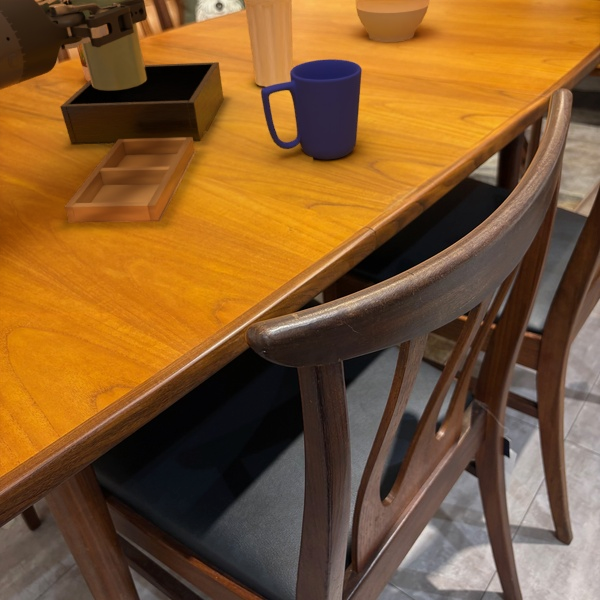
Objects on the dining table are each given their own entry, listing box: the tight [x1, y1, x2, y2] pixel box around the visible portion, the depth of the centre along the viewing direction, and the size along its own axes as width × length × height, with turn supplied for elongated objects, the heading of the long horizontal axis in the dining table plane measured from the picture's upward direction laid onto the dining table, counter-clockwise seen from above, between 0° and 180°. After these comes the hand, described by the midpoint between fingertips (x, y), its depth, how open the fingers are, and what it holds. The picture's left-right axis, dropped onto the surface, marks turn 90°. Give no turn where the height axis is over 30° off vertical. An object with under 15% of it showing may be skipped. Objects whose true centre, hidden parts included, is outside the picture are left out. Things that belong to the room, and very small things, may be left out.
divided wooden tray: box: [64, 137, 197, 223], centre depth 70 cm, size 10×18×2 cm, turn 176°
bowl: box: [355, 0, 430, 43], centre depth 117 cm, size 16×16×8 cm
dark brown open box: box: [59, 61, 225, 145], centre depth 87 cm, size 18×18×6 cm
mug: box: [260, 58, 363, 160], centre depth 73 cm, size 8×12×10 cm
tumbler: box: [71, 0, 147, 91], centre depth 66 cm, size 6×6×12 cm
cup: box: [243, 0, 294, 88], centre depth 95 cm, size 8×8×14 cm
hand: (119, 6), depth 67 cm, fingers closed on tumbler, 6 cm apart
